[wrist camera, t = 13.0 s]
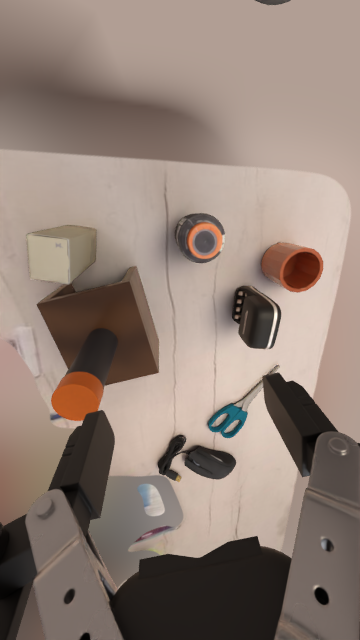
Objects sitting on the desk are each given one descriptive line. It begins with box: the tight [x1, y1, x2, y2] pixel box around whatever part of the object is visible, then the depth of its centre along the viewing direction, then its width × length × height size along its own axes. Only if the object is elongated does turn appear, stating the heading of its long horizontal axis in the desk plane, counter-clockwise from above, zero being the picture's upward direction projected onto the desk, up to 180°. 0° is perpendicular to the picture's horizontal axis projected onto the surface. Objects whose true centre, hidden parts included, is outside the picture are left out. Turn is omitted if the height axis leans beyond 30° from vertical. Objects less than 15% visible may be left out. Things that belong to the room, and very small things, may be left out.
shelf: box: [37, 266, 159, 385], centre depth 38 cm, size 14×12×10 cm
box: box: [26, 225, 96, 285], centre depth 32 cm, size 5×4×13 cm
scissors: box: [208, 365, 280, 438], centre depth 52 cm, size 7×1×20 cm
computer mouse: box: [158, 435, 236, 482], centre depth 57 cm, size 12×17×4 cm
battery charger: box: [232, 286, 281, 349], centre depth 39 cm, size 7×4×11 cm, turn 176°
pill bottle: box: [175, 213, 225, 263], centre depth 34 cm, size 6×6×11 cm
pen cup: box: [261, 243, 323, 292], centre depth 38 cm, size 6×6×7 cm
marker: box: [51, 328, 118, 421], centre depth 28 cm, size 4×4×12 cm
